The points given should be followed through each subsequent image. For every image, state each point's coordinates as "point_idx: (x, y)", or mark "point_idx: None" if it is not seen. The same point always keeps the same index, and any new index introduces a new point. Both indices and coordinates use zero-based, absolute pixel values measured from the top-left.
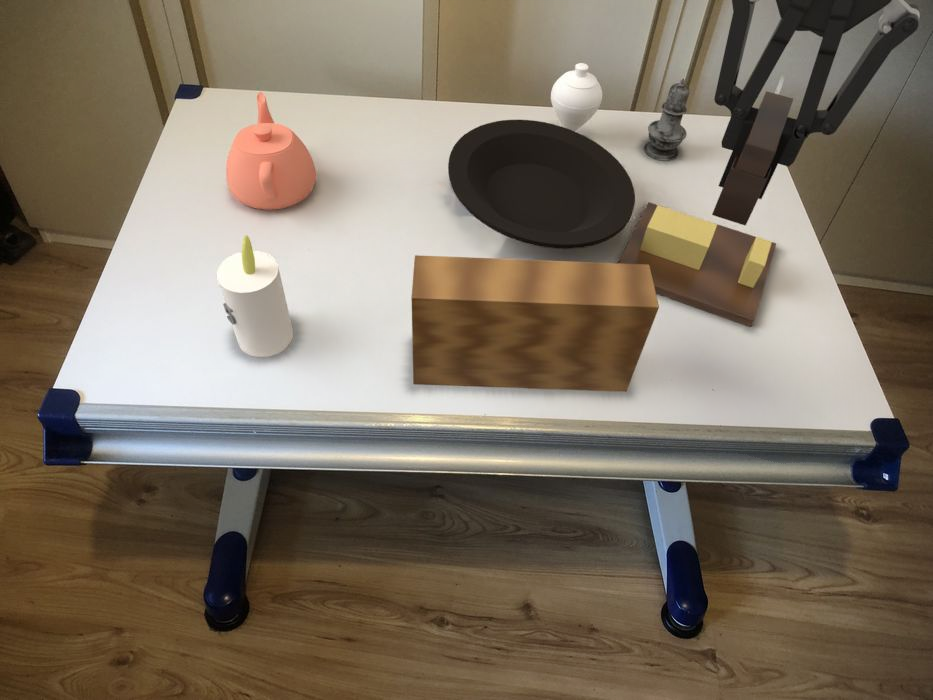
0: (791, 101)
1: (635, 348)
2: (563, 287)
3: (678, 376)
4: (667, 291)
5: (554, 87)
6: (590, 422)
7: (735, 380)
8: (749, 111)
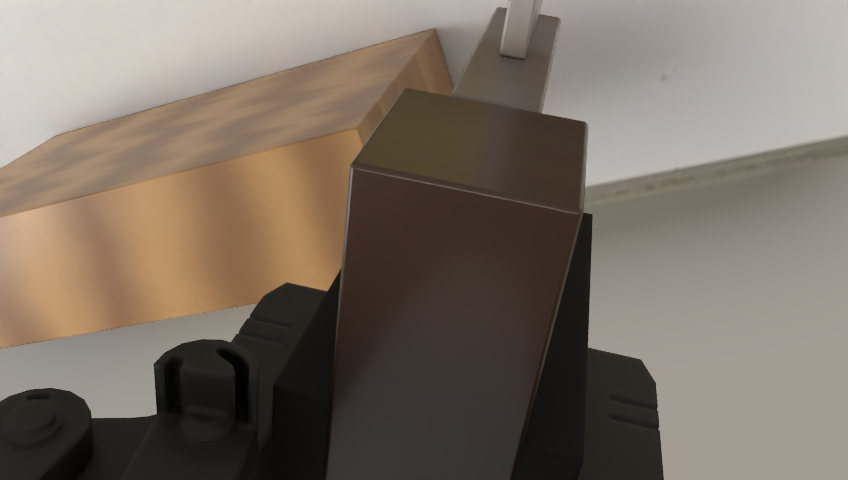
0: (561, 259)
1: None
2: (180, 269)
3: (580, 62)
4: None
5: None
6: None
7: (724, 32)
8: (277, 437)
